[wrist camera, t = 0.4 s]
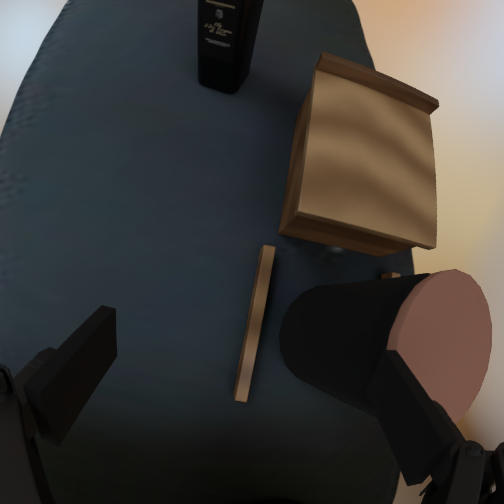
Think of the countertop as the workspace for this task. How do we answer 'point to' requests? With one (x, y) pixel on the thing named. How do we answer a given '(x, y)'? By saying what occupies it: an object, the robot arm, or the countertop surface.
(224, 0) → the wine bottle
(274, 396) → the countertop surface
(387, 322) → the coffee jar
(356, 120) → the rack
